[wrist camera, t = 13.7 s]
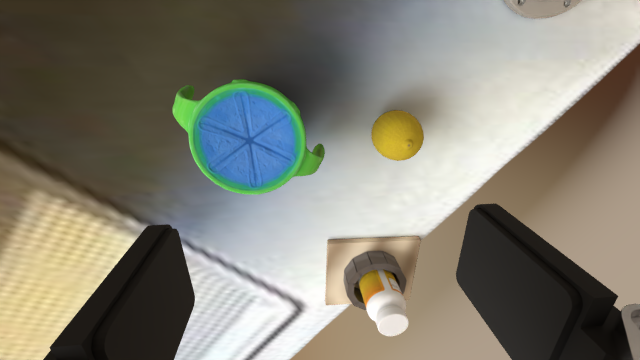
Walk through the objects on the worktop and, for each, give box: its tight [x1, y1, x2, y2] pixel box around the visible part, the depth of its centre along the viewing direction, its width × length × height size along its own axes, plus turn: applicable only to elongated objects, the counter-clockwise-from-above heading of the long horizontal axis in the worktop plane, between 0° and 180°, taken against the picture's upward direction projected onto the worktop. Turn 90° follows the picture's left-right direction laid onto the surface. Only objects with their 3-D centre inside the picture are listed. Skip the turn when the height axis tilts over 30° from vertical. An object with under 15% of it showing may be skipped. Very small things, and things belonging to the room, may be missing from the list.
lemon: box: [372, 110, 424, 161], centre depth 34 cm, size 6×6×8 cm
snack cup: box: [173, 79, 325, 194], centre depth 31 cm, size 16×10×10 cm
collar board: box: [325, 236, 421, 310], centre depth 45 cm, size 14×12×4 cm
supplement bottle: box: [358, 269, 408, 336], centre depth 42 cm, size 5×5×10 cm
